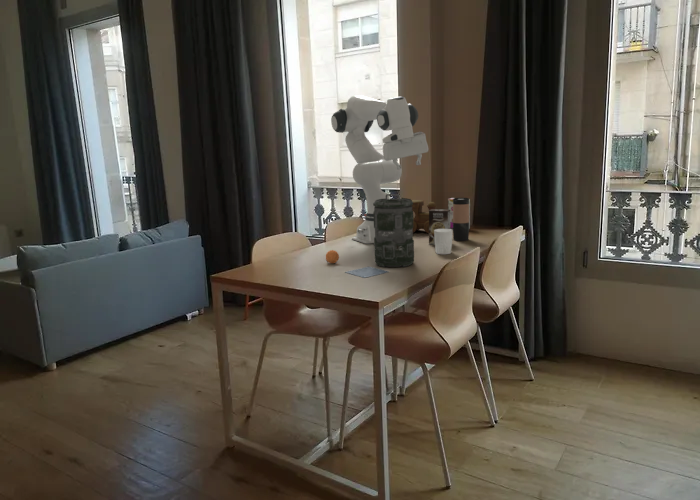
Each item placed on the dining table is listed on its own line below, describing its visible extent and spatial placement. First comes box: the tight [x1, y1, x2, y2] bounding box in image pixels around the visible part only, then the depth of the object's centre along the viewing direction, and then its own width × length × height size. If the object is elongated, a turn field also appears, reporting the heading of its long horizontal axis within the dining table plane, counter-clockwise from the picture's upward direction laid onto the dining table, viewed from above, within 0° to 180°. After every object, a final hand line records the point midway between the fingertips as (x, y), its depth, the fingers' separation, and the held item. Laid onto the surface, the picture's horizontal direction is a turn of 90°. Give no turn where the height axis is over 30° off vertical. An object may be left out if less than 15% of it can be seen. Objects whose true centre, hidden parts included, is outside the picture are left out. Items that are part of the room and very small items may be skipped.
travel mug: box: [452, 197, 470, 242], centre depth 257 cm, size 8×8×20 cm
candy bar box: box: [447, 197, 471, 230], centre depth 288 cm, size 11×5×16 cm, turn 46°
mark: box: [344, 266, 390, 279], centre depth 203 cm, size 12×12×1 cm
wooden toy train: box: [411, 199, 437, 234], centre depth 283 cm, size 20×11×17 cm, turn 66°
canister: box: [373, 193, 415, 268], centre depth 212 cm, size 16×16×28 cm
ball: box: [325, 249, 340, 264], centre depth 220 cm, size 6×6×6 cm
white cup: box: [434, 229, 453, 255], centre depth 231 cm, size 8×8×10 cm
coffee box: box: [428, 208, 450, 246], centre depth 250 cm, size 9×6×16 cm
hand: (409, 167), depth 229 cm, fingers open, 8 cm apart
